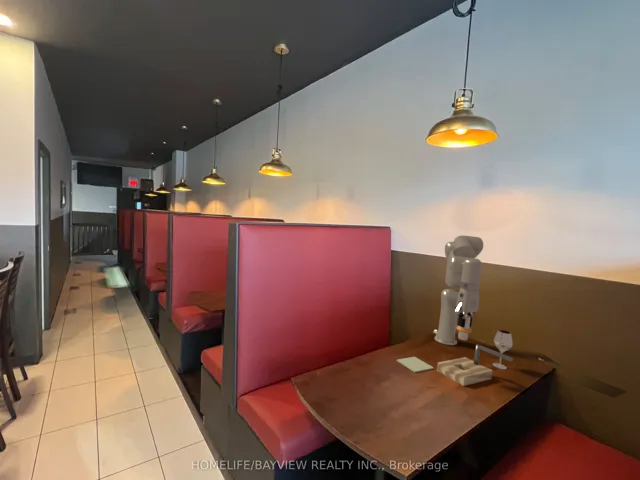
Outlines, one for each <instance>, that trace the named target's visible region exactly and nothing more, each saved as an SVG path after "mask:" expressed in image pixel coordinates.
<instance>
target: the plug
mask: <svg viewBox="0 0 640 480" xmlns="http://www.w3.org/2000/svg"><path fill="white" fill-rule="evenodd" d="M470 318H471V316H469V315H465V319H466V321H465V327H461V326H458V325H456V331H458V335H457V338H458V339H459V340H462V341H468V338H469V334H472V331H473V328H471V327H470V326H469V325H470Z"/></svg>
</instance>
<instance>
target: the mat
mask: <svg viewBox="0 0 640 480" xmlns="http://www.w3.org/2000/svg"><path fill="white" fill-rule="evenodd" d="M396 362H398V363H399V364H401V365H402V366H404V367H406V369H407V368H408V369H409V370H410V371H412V372H413V373H420V372H424V371H429V370H433V369H434V367H433V366H432V365H430V364H429V363H427V362H425V361H423V360H421V359H420V358H418V357H417V356H410V357H406V358H405V357H404V358H399V359H396Z"/></svg>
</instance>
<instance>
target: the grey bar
mask: <svg viewBox="0 0 640 480" xmlns="http://www.w3.org/2000/svg"><path fill="white" fill-rule="evenodd" d="M481 351H483V352H486V353H488V354H491V355H493V356H496V357H499V359H500V358H502V360H505V361H508V362H513V361H514V358H513V357H511V356H509V355H506V354H504V353H502V354H501V352H500V351H496V350H494V349H491V348H489V347H486V346H483V345H481V344H475V350H474V357H473V361H474V364H476V365H478V364H480V363H479V361H480V354H481Z"/></svg>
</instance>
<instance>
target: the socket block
mask: <svg viewBox="0 0 640 480" xmlns="http://www.w3.org/2000/svg"><path fill="white" fill-rule="evenodd" d="M493 371H494V369H493V370H492V369H491V368H489V367H487V366H484V365H482V364H481V363H478V365H476V364H474V360H473V359H470V358H468V357H466V356H464V357H460V358H455V359H448V360H444V361H439V362H437V367H436V372H438V373H439V374H441V375H443V376H445V377H447V378H448V379H450V380H451V381H454V382H455V383H457V384H458V385H461V386H463V387H465V386H469V385H474V384H477V383H480V382H484V381H489V380H492V378H493Z"/></svg>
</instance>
